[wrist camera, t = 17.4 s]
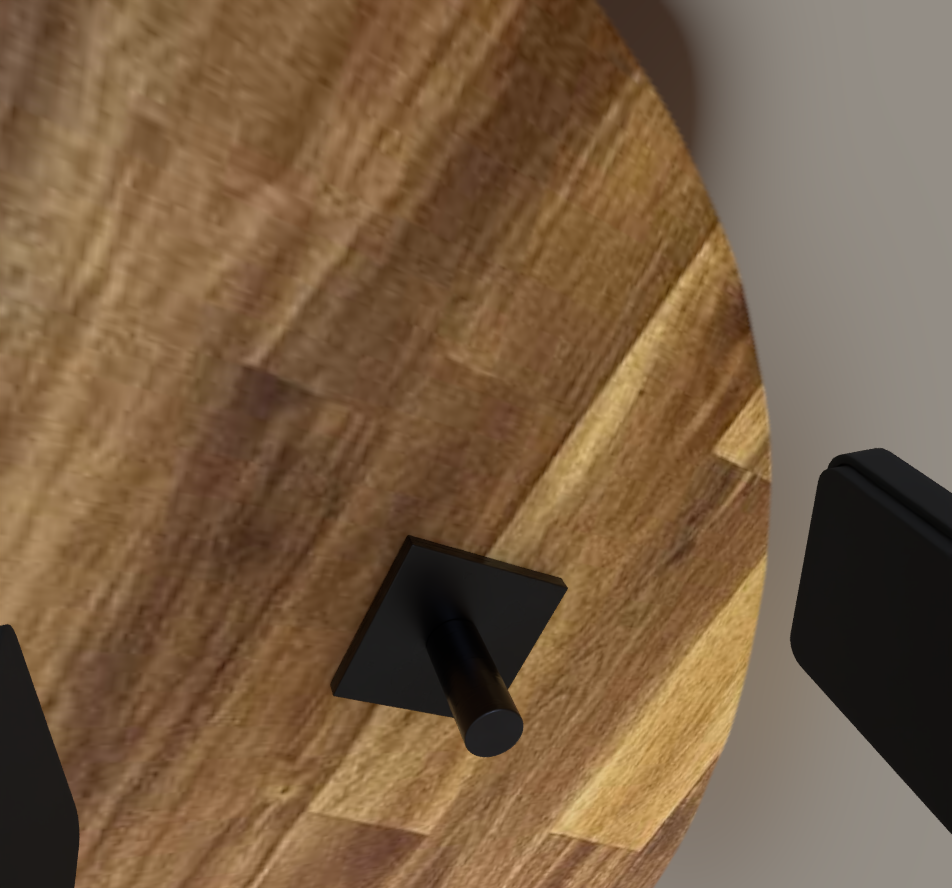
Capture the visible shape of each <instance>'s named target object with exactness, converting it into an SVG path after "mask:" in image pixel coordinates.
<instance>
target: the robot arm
mask: <svg viewBox="0 0 952 888" xmlns="http://www.w3.org/2000/svg"><path fill="white" fill-rule="evenodd" d="M790 642H791V648H792V651H793V654H794V656H795V658H796V661H797V662H798V663H799V665H800V666H801V667H802V668H803V669H804V671H805V672H806V673H807V674H808V675H809V676H810V677H811V678H812V679H813V680H814V682H815V683H816V684H817V685H818V686H819V687H820V688H821V689H822V691H823V692H824V693H825V694H826V695H827V696H828V697H829V698H830V700H831V701H832V702H833V703H834V704H835V705H836V706H837V707H838V708H839V710H840V711H841V712H842V713H843V714H844V715H845V716H846V717H847V718H848V719H849V721H850V722H851V723H852V724H853V725H854V726H855V727H856V728H857V730H858V731H859V732H860V733H861V734H862V735H863V736H864V737H865V738H866V739H867V741H868V742H869V743H870V744H871V745H872V746H873V747H874V748H875V749H876V751H877V752H878V753H879V754H880V755H881V756H882V757H883V758H884V759H885V760H886V762H887V763H888V764H889V765H890V766H891V767H892V768H893V769H894V771H895V772H896V773H897V774H898V775H899V776H900V777H901V778H902V779H903V781H904V782H905V783H906V784H907V785H908V786H909V787H910V788H911V789H912V791H913V792H914V793H915V794H916V795H917V796H918V797H919V798H920V799H921V801H922V802H923V803H924V804H925V805H926V806H927V807H928V808H929V810H930V811H931V812H932V813H933V814H934V815H935V816H936V817H937V818H938V820H940V822H941V823H942V824H943V825H944V826H945V827H946V828H947V830H948V831H949V832H950V833H951V834H952V493H951V492H949V491H948V490H946V489H945V488H943V487H942V486H940V485H939V484H937V483H936V482H934V481H933V480H932V479H930V478H929V477H927V476H926V475H924V474H923V473H921V472H920V471H918V470H917V469H915V468H914V467H912V466H911V465H909V464H908V463H906V462H905V461H903V460H902V459H900V458H899V457H897V456H896V455H894V454H893V453H891V452H890V451H888V450H885V449H883V448H874V449H869V450H863V451H858V452H853V453H847V454H842V455H838V456H836V457H835V458H833V459H832V461H831V462H830V463H829V466H828V469H826V470H824V471H823V472H822V474H821V475H820V477H819V480H818V485H817V490H816V496H815V501H814V507H813V513H812V518H811V524H810V530H809V535H808V540H807V546H806V551H805V557H804V563H803V568H802V573H801V579H800V584H799V590H798V596H797V601H796V607H795V612H794V618H793V623H792V629H791V635H790ZM78 850H79V821H78V815H77V810H76V806H75V803H74V800H73V797H72V794H71V791H70V789H69V786H68V783H67V780H66V777H65V774H64V771H63V768H62V766H61V763H60V760H59V757H58V754H57V751H56V748H55V745H54V743H53V740H52V737H51V734H50V731H49V728H48V725H47V722H46V720H45V717H44V714H43V711H42V708H41V705H40V702H39V699H38V697H37V694H36V691H35V688H34V685H33V682H32V679H31V676H30V673H29V671H28V668H27V665H26V662H25V659H24V656H23V653H22V650H21V648H20V645H19V642H18V639H17V636H16V634H15V631H14V629H13V628H12V627H11V625H8V624H6V625H1V626H0V888H74V886H75V877H76V868H77V859H78Z"/></svg>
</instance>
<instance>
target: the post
mask: <svg viewBox="0 0 952 888" xmlns="http://www.w3.org/2000/svg"><path fill="white" fill-rule="evenodd" d="M567 589H568V587H567V586H566V584H565V583H564V581H563V580H562V579H561V578H558V577H554V576H551V575H547V574H544V573H540V572H537V571H533V570H530V569H526V568H522V567H519V566H515V565H512V564H508V563H505V562H501V561H498V560H494V559H491V558H487V557H484V556H480V555H477V554H473V553H470V552H466V551H463V550H459V549H455V548H452V547H448V546H445V545H441V544H438V543H434V542H431V541H427V540H424V539H420V538H417V537H413V536H410V535H408V536H407V538H406V540H405V542H404V544H403V546H402V548H401V550H400V551H399V553H398V555H397V557H396V559H395V561H394V563H393V565H392V567H391V569H390V571H389V573H388V574H387V576H386V578H385V580H384V582H383V584H382V586H381V588H380V590H379V592H378V594H377V596H376V597H375V599H374V601H373V603H372V605H371V607H370V609H369V611H368V613H367V615H366V617H365V619H364V620H363V622H362V624H361V626H360V628H359V630H358V632H357V634H356V636H355V638H354V640H353V642H352V644H351V645H350V647H349V649H348V651H347V653H346V655H345V657H344V659H343V661H342V663H341V665H340V667H339V668H338V670H337V672H336V674H335V676H334V678H333V680H332V682H331V689H332V693H333V696H337V697H342V698H348V699H353V700H359V701H364V702H370V703H375V704H381V705H386V706H392V707H397V708H403V709H408V710H414V711H419V712H425V713H430V714H436V715H441V716H447V717H452V718H454V719H455V721H456V724H457V726H458V729H459V731H460V733H461V736H462V738H463V741H464V743H465V746H466V748H467V749H468V751H469V752H471V753H472V754H474V755H476V756H479V757H492V756H496V755H499V754H502V753H504V752H506V751H507V750H509V749H510V748H511V747H513V746H514V745H515V744H516V743H517V741H518V740H519V739H520V737H521V735H522V732H523V720H522V718H521V716H520V714H519V712H518V710H517V708H516V706H515V704H514V702H513V700H512V698H511V696H510V694H509V692H508V688H509V687H510V685H511V683H512V682H513V680H514V678H515V677H516V675H517V673H518V672H519V670H520V668H521V667H522V665H523V663H524V662H525V660H526V658H527V657H528V655H529V653H530V651H531V650H532V648H533V646H534V645H535V643H536V641H537V640H538V638H539V636H540V635H541V633H542V631H543V630H544V628H545V626H546V625H547V623H548V621H549V620H550V618H551V616H552V614H553V613H554V611H555V609H556V608H557V606H558V604H559V603H560V601H561V599H562V598H563V596H564V594H565V593H566V591H567Z"/></svg>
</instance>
